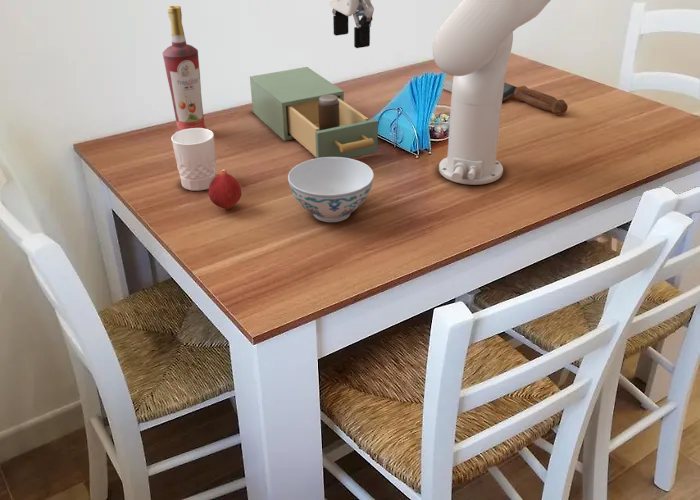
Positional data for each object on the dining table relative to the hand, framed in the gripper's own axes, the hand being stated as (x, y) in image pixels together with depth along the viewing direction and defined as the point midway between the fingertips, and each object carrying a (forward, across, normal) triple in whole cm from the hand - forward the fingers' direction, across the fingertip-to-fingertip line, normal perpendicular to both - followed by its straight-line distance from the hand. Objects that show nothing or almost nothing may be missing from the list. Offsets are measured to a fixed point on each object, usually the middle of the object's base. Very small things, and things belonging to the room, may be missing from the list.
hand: (351, 40), depth 145 cm
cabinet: (+22, -16, -6) cm, 28 cm away
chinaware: (+22, +28, -18) cm, 40 cm away
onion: (+22, +18, -34) cm, 45 cm away
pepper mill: (+20, +2, -6) cm, 21 cm away
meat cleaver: (+22, -5, +43) cm, 49 cm away
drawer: (+21, +3, -6) cm, 22 cm away
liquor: (+22, -19, -31) cm, 42 cm away
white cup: (+22, +5, -36) cm, 43 cm away
